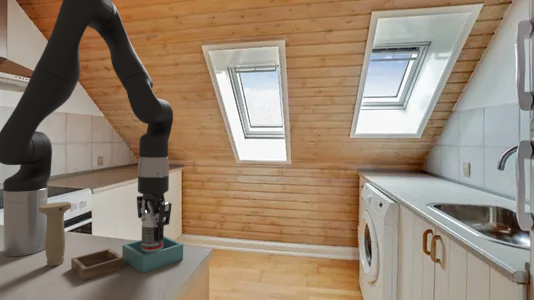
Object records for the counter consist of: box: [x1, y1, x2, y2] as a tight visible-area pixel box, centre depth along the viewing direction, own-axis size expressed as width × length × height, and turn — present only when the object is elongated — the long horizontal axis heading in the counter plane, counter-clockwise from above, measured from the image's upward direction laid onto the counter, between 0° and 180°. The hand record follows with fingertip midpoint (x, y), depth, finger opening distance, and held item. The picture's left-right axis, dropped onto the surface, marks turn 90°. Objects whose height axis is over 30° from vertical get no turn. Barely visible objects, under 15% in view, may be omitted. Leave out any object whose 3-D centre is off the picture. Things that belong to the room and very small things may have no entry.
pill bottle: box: [141, 212, 165, 252], centre depth 74 cm, size 5×5×10 cm
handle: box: [39, 201, 72, 267], centre depth 70 cm, size 5×6×15 cm
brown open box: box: [70, 248, 125, 282], centre depth 68 cm, size 9×9×2 cm
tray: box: [121, 235, 184, 274], centre depth 74 cm, size 11×11×4 cm
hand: (152, 237), depth 74 cm, fingers closed on pill bottle, 5 cm apart
